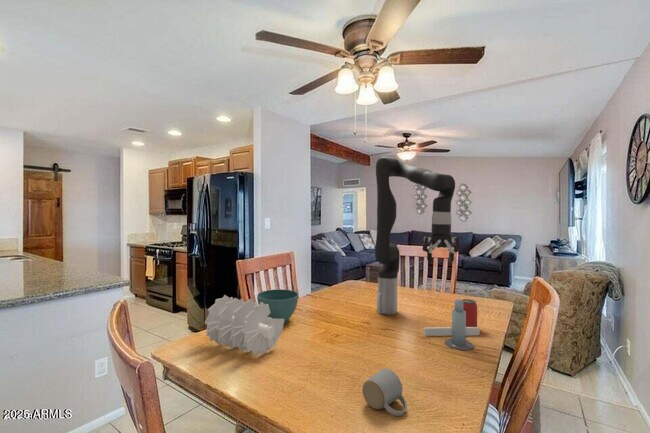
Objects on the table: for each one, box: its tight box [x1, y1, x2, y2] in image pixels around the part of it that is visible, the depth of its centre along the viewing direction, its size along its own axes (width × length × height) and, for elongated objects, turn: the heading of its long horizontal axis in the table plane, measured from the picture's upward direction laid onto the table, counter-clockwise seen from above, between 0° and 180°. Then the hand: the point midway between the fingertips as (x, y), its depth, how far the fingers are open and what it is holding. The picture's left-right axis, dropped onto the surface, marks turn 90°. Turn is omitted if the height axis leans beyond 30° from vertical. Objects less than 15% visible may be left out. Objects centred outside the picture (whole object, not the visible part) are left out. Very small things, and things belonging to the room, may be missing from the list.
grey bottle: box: [451, 298, 467, 346], centre depth 120 cm, size 5×5×16 cm
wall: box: [423, 326, 480, 337], centre depth 129 cm, size 22×1×3 cm, turn 92°
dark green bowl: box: [256, 288, 299, 324], centre depth 145 cm, size 18×18×12 cm
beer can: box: [462, 298, 478, 327], centre depth 135 cm, size 7×7×12 cm
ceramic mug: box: [362, 368, 408, 417], centre depth 82 cm, size 11×8×8 cm
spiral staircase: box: [204, 294, 285, 358], centre depth 117 cm, size 18×18×25 cm
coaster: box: [444, 337, 475, 351], centre depth 120 cm, size 10×10×1 cm
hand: (440, 262), depth 134 cm, fingers open, 8 cm apart
